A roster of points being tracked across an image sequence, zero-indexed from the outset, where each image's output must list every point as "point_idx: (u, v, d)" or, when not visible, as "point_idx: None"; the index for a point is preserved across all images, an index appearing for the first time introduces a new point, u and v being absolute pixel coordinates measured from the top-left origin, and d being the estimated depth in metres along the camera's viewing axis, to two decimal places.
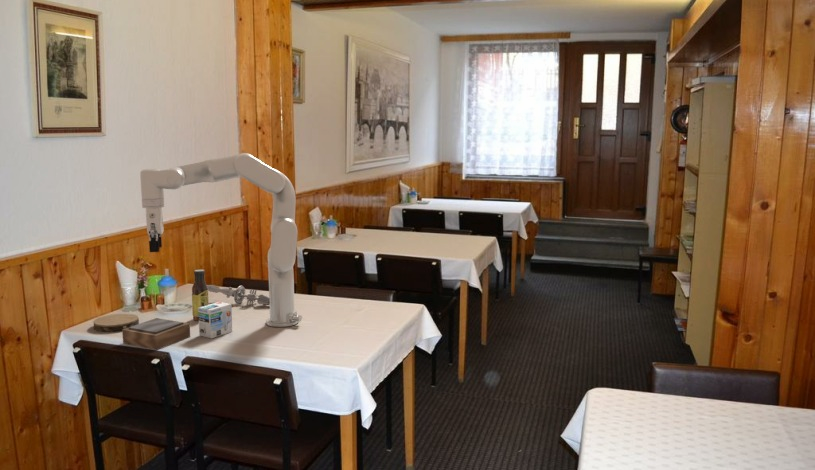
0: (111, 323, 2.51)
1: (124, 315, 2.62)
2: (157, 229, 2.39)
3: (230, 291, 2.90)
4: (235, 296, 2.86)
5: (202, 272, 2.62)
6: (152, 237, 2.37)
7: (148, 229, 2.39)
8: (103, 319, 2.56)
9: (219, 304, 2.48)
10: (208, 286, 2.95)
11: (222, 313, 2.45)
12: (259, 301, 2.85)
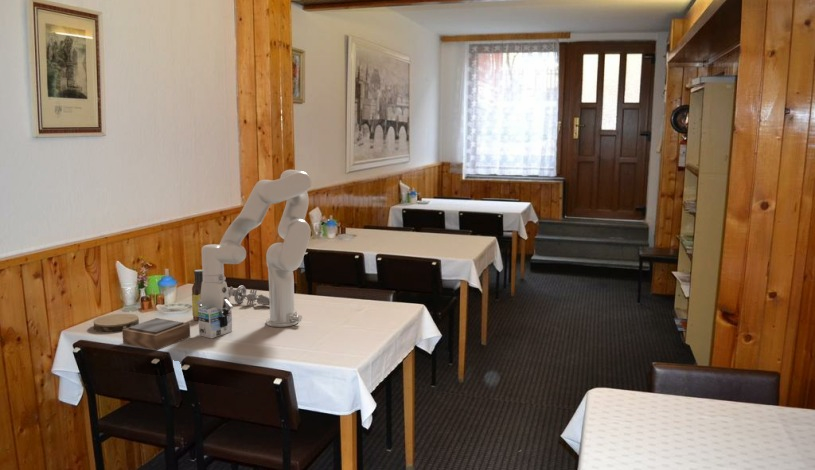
0: (111, 323, 2.51)
1: (124, 315, 2.62)
2: None
3: (231, 291, 2.91)
4: (235, 296, 2.86)
5: (202, 272, 2.62)
6: (227, 312, 2.43)
7: (222, 304, 2.42)
8: (103, 319, 2.56)
9: None
10: None
11: None
12: (259, 301, 2.85)
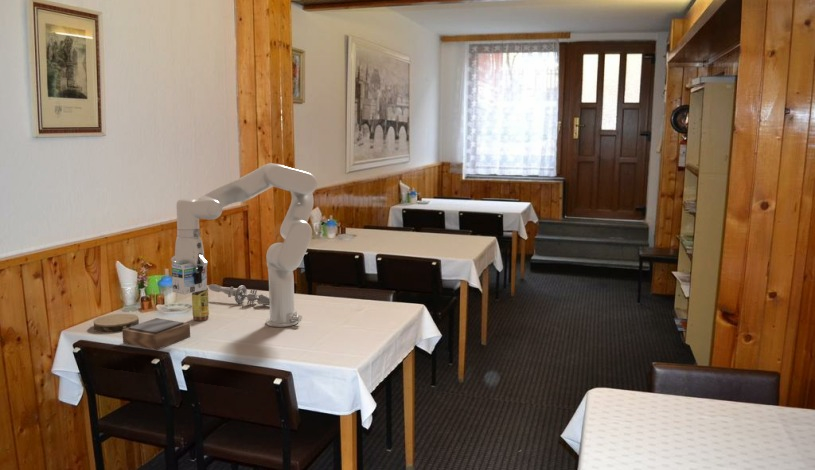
0: (111, 323, 2.51)
1: (124, 315, 2.62)
2: None
3: (231, 291, 2.91)
4: (236, 296, 2.87)
5: None
6: (202, 269, 2.38)
7: (196, 259, 2.36)
8: (103, 319, 2.56)
9: None
10: (210, 285, 2.96)
11: None
12: (259, 301, 2.85)
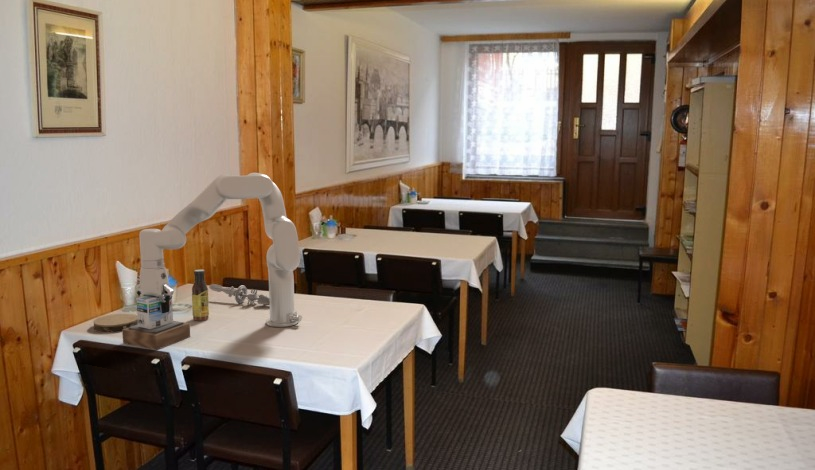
0: (111, 323, 2.51)
1: (124, 315, 2.62)
2: None
3: (232, 290, 2.91)
4: (236, 296, 2.87)
5: (202, 272, 2.62)
6: (169, 298, 2.34)
7: (161, 290, 2.34)
8: (103, 319, 2.56)
9: None
10: (211, 285, 2.96)
11: None
12: (259, 301, 2.85)
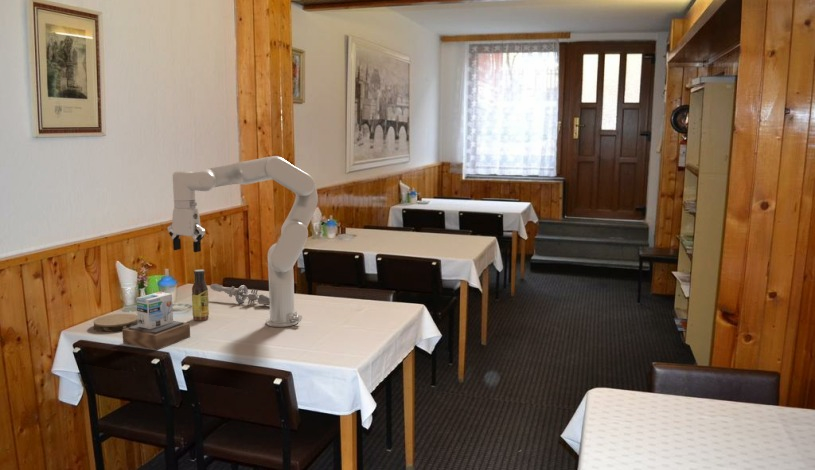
0: (111, 323, 2.51)
1: (124, 315, 2.62)
2: None
3: (232, 290, 2.91)
4: (236, 295, 2.87)
5: (202, 272, 2.62)
6: (201, 237, 2.44)
7: (193, 230, 2.43)
8: (103, 319, 2.56)
9: (159, 294, 2.39)
10: (212, 285, 2.97)
11: (162, 303, 2.37)
12: (259, 301, 2.85)
